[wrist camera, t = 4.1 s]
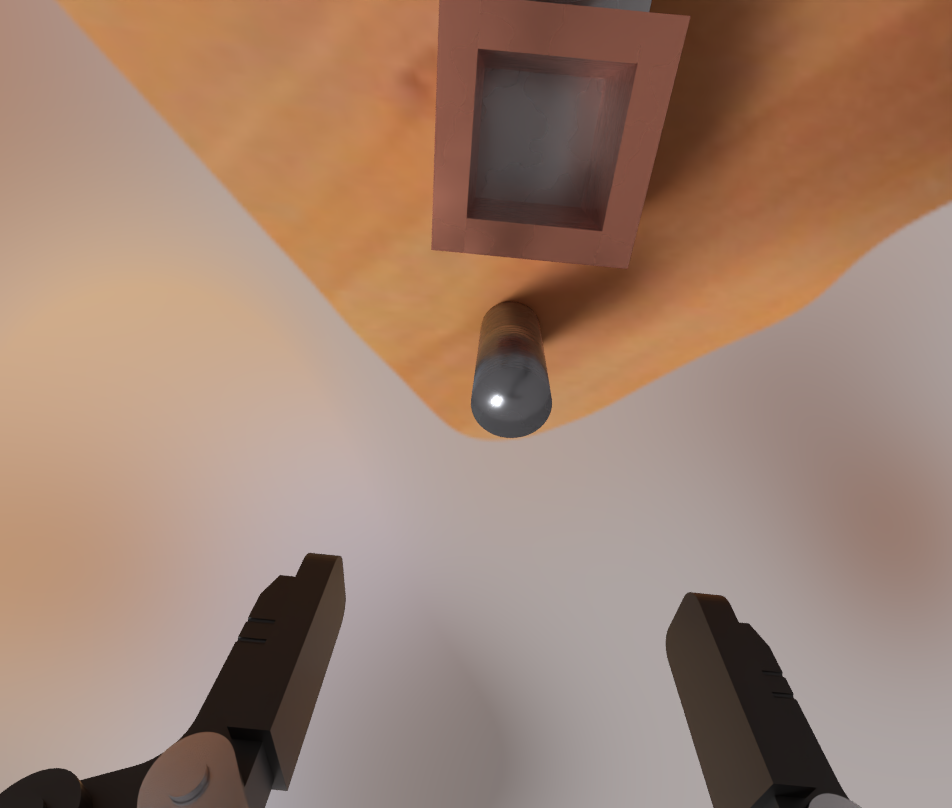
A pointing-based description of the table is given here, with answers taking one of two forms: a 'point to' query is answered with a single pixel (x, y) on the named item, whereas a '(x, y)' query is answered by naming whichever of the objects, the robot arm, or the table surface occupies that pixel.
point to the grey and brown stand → (549, 125)
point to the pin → (511, 373)
